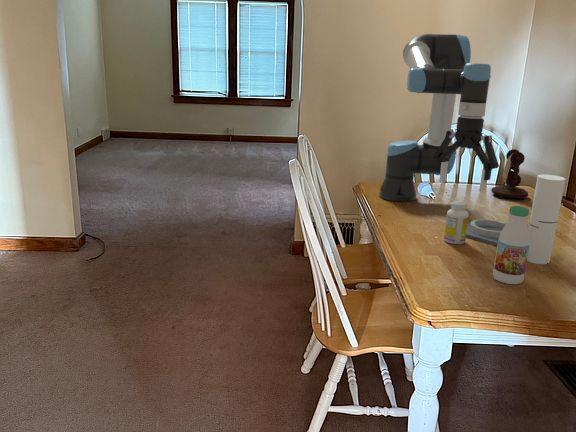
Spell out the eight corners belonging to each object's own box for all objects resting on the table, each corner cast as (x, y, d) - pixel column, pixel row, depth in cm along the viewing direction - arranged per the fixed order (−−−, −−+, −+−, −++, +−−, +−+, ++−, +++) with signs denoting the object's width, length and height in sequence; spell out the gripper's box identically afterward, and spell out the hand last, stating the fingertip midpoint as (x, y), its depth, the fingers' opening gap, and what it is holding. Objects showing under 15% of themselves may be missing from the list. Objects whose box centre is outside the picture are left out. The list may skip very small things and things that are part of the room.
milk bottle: (487, 273, 145) (498, 203, 139) (514, 273, 145) (526, 203, 139) (500, 285, 137) (512, 212, 131) (528, 285, 138) (542, 212, 132)
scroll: (487, 191, 235) (494, 146, 229) (521, 193, 233) (529, 148, 227) (495, 199, 221) (502, 152, 215) (531, 202, 219) (540, 154, 213)
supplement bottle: (462, 238, 172) (467, 200, 168) (467, 245, 166) (472, 206, 162) (441, 237, 172) (446, 199, 169) (445, 244, 166) (450, 205, 162)
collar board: (448, 232, 178) (450, 223, 177) (477, 221, 191) (478, 213, 190) (506, 248, 164) (507, 239, 163) (533, 235, 177) (534, 227, 176)
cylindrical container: (547, 266, 151) (564, 181, 144) (521, 260, 155) (535, 177, 147) (550, 258, 157) (566, 176, 150) (525, 253, 161) (539, 173, 153)
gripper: (427, 113, 163) (420, 180, 169) (505, 122, 146) (494, 196, 152) (440, 112, 168) (433, 177, 174) (517, 120, 151) (506, 192, 157)
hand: (461, 186), depth 163 cm, fingers open, 13 cm apart
